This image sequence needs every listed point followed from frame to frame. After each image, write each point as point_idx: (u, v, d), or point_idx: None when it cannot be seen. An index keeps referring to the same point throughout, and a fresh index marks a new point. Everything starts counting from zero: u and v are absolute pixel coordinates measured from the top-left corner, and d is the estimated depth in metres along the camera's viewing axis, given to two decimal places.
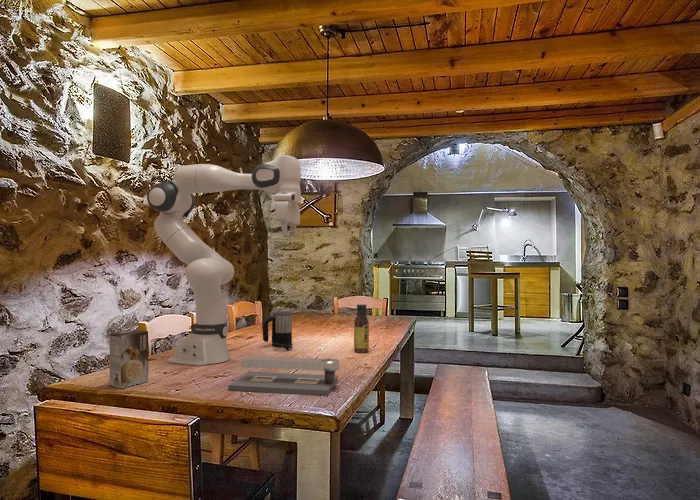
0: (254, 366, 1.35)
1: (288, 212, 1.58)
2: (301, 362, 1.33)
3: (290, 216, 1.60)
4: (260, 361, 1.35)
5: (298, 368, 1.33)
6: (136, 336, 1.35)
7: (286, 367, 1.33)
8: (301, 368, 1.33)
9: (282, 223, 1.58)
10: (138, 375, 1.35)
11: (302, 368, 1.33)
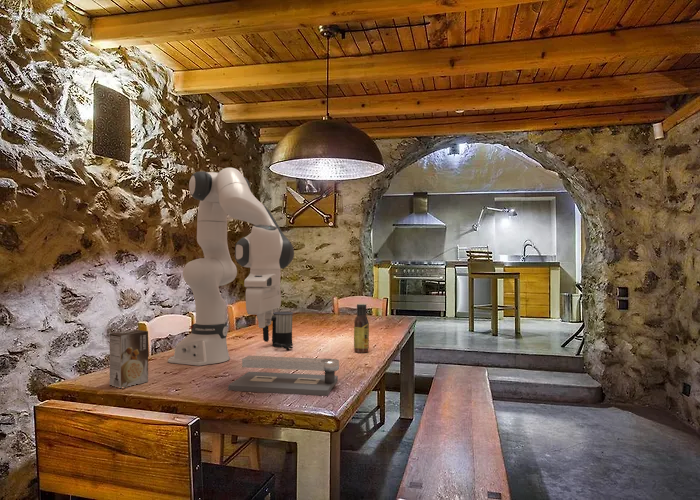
0: (254, 366, 1.35)
1: (263, 301, 1.23)
2: (301, 362, 1.33)
3: (267, 304, 1.26)
4: (260, 361, 1.35)
5: (298, 368, 1.33)
6: (136, 336, 1.35)
7: (286, 367, 1.33)
8: (301, 368, 1.33)
9: (258, 314, 1.26)
10: (138, 375, 1.35)
11: (302, 368, 1.33)
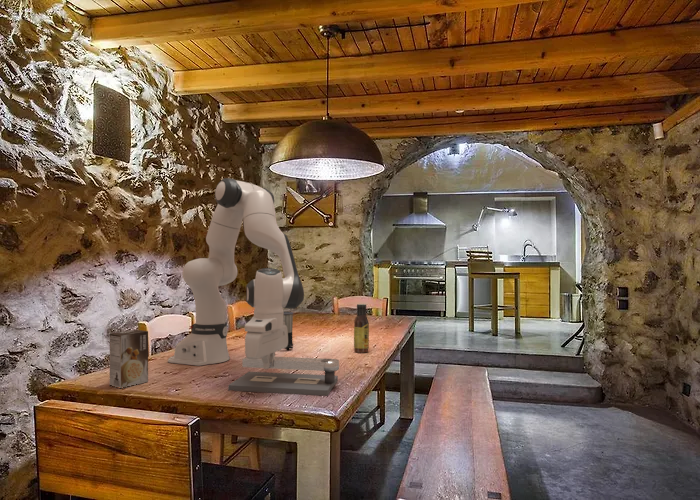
0: (254, 366, 1.35)
1: (262, 345, 1.26)
2: (301, 362, 1.33)
3: (268, 347, 1.29)
4: (260, 361, 1.35)
5: (298, 368, 1.33)
6: (136, 336, 1.35)
7: (286, 367, 1.33)
8: (301, 368, 1.33)
9: None
10: (138, 375, 1.35)
11: (302, 368, 1.33)
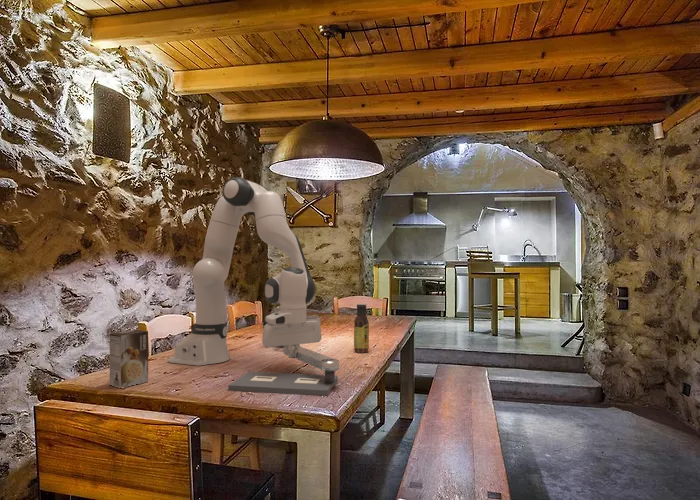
0: None
1: (276, 336, 1.42)
2: (309, 357, 1.39)
3: (285, 339, 1.43)
4: (291, 350, 1.50)
5: (308, 362, 1.40)
6: (136, 336, 1.35)
7: (302, 360, 1.43)
8: (309, 363, 1.39)
9: (286, 346, 1.46)
10: (138, 375, 1.35)
11: (310, 363, 1.39)
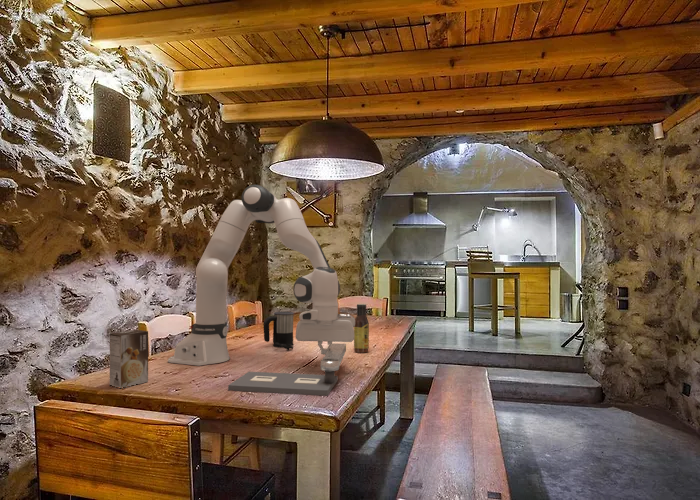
0: None
1: (306, 331, 1.51)
2: None
3: (314, 334, 1.50)
4: None
5: None
6: (136, 336, 1.35)
7: None
8: None
9: None
10: (138, 375, 1.35)
11: None
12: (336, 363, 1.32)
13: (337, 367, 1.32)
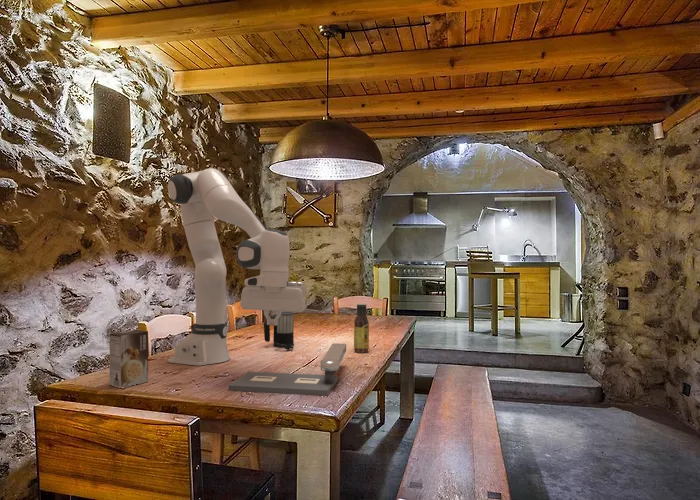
0: None
1: (251, 299, 1.37)
2: None
3: (260, 302, 1.36)
4: None
5: None
6: (136, 336, 1.35)
7: None
8: None
9: None
10: (138, 375, 1.35)
11: None
12: (336, 363, 1.32)
13: (337, 367, 1.32)
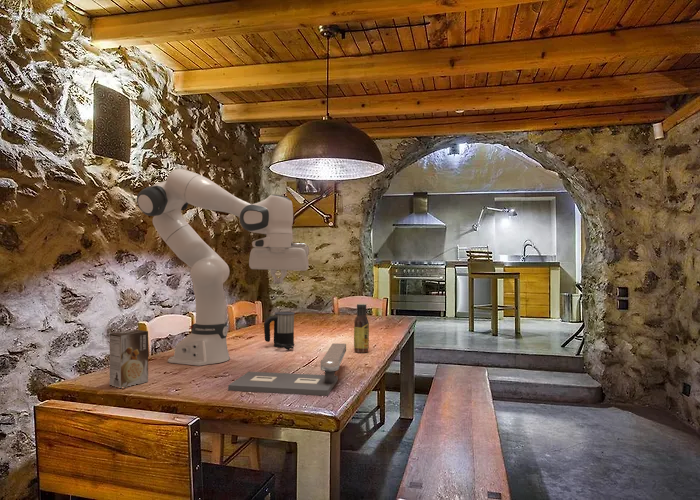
0: None
1: (259, 259, 1.48)
2: None
3: (267, 262, 1.48)
4: None
5: None
6: (136, 336, 1.35)
7: None
8: None
9: None
10: (138, 375, 1.35)
11: None
12: (336, 363, 1.32)
13: (337, 367, 1.32)
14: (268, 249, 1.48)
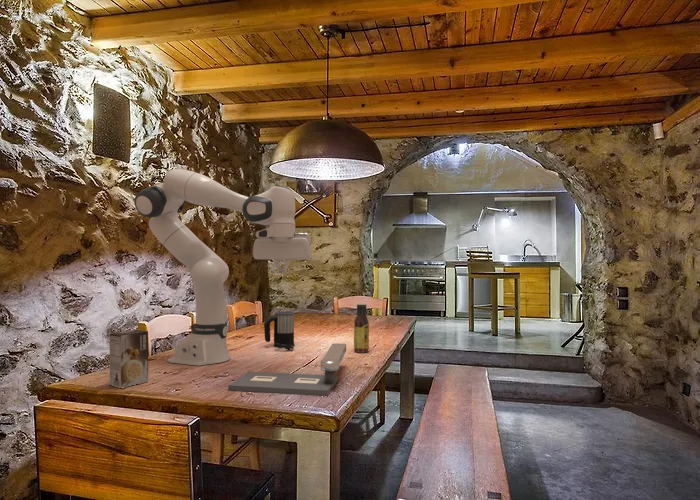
0: None
1: (262, 249, 1.51)
2: None
3: (271, 252, 1.51)
4: None
5: None
6: (136, 336, 1.35)
7: None
8: None
9: None
10: (138, 375, 1.35)
11: None
12: (336, 363, 1.32)
13: (337, 367, 1.32)
14: (271, 239, 1.51)
